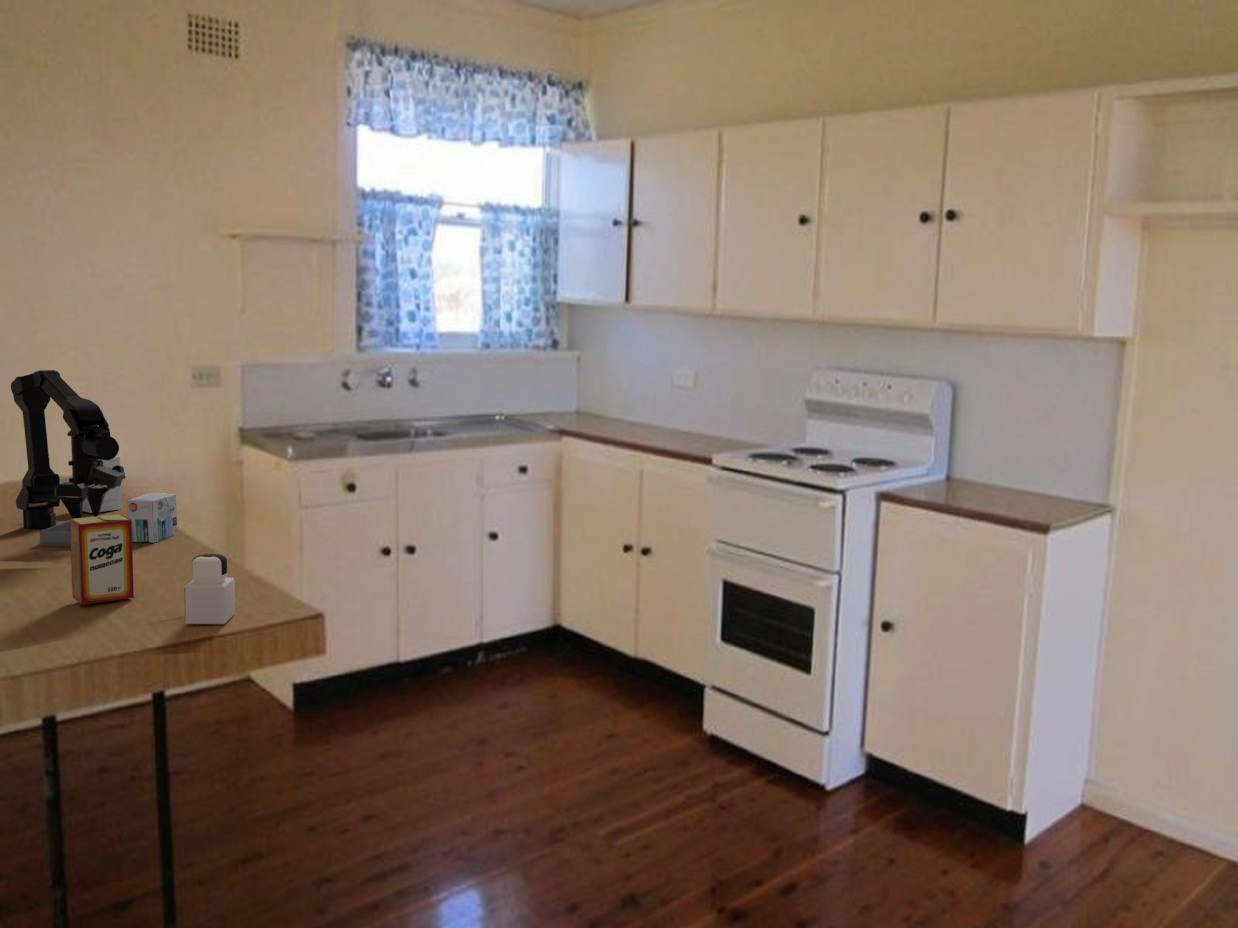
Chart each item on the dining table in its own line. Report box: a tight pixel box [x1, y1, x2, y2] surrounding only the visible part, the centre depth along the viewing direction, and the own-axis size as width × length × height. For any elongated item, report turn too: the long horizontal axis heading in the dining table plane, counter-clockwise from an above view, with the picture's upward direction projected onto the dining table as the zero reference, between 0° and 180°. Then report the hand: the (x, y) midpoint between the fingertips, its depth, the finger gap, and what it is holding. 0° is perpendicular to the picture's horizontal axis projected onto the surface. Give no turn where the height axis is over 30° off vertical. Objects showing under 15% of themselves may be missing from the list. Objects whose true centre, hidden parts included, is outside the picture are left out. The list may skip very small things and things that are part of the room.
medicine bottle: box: [184, 553, 236, 625], centre depth 199 cm, size 7×7×12 cm
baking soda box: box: [69, 513, 134, 606], centre depth 211 cm, size 10×6×16 cm
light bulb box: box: [127, 492, 178, 544], centre depth 265 cm, size 11×7×11 cm
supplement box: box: [82, 456, 122, 514], centre depth 300 cm, size 9×9×15 cm
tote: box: [39, 519, 71, 548], centre depth 262 cm, size 15×15×4 cm
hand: (87, 520), depth 261 cm, fingers open, 9 cm apart
